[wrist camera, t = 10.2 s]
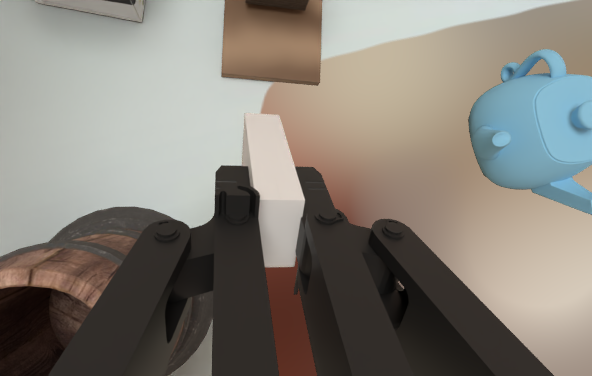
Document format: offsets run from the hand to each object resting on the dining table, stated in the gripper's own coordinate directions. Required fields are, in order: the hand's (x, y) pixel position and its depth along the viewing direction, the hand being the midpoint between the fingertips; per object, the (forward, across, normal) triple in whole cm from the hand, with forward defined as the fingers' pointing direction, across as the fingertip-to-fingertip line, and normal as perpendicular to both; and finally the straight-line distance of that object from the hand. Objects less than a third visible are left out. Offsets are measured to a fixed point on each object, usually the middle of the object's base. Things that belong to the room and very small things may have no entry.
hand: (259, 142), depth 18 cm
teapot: (+21, +31, -9) cm, 38 cm away
